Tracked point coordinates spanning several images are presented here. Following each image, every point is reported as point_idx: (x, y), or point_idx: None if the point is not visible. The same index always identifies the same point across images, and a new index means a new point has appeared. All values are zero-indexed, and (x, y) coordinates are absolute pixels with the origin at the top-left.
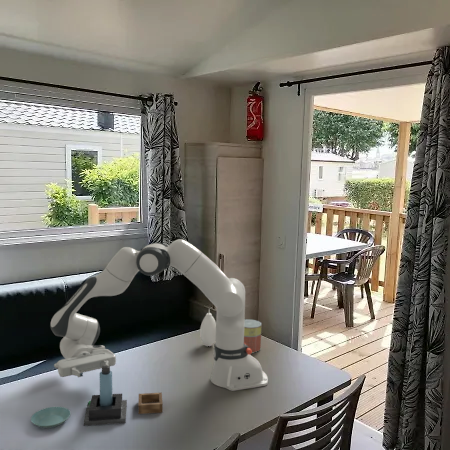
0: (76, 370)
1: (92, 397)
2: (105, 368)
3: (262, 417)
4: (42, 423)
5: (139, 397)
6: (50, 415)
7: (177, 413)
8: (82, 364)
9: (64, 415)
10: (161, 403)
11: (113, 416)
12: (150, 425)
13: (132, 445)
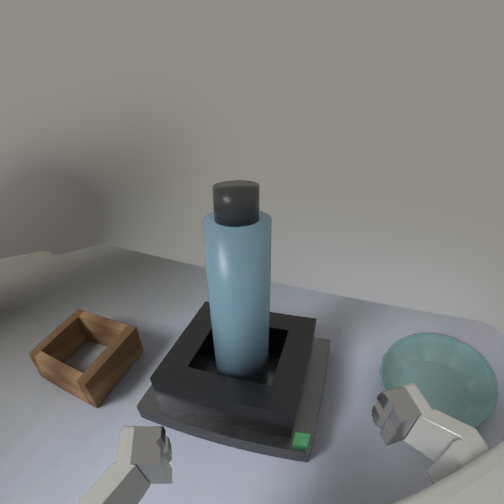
0: (437, 415)
1: (295, 395)
2: (242, 181)
3: (3, 262)
4: (455, 381)
5: (100, 362)
6: None
7: (66, 315)
8: (404, 498)
9: None
10: (78, 311)
11: None
12: (149, 303)
13: None
